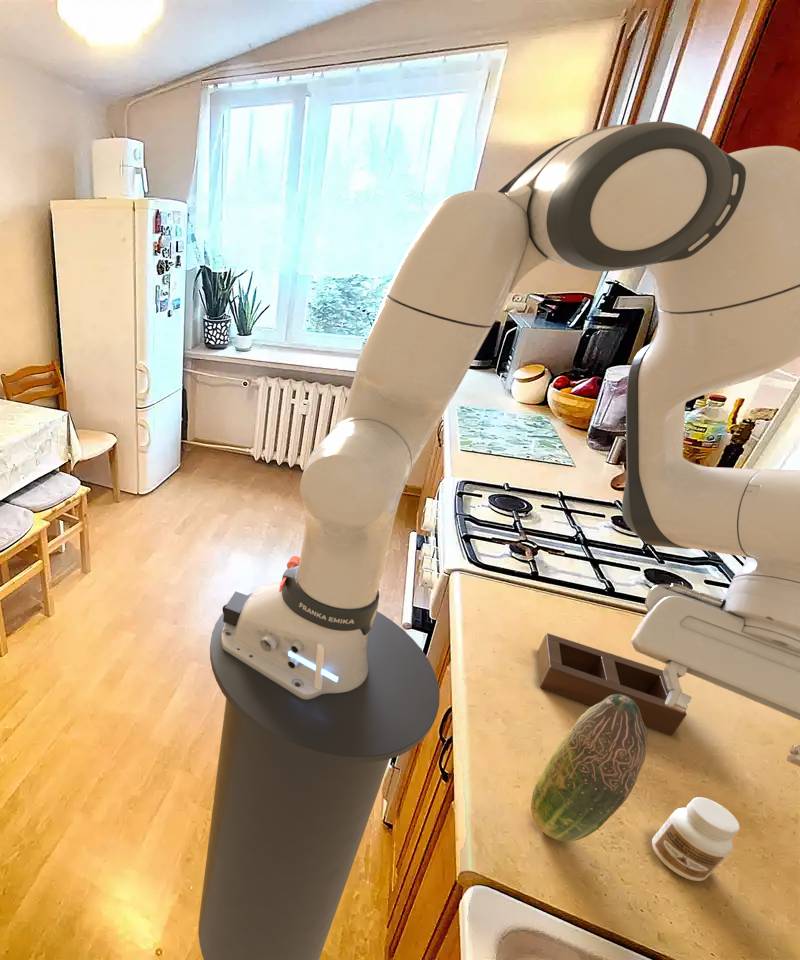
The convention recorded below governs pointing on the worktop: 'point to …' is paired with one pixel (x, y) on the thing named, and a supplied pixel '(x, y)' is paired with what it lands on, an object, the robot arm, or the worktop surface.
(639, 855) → the worktop surface
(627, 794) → the vegetable
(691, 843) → the pill bottle
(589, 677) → the holder
